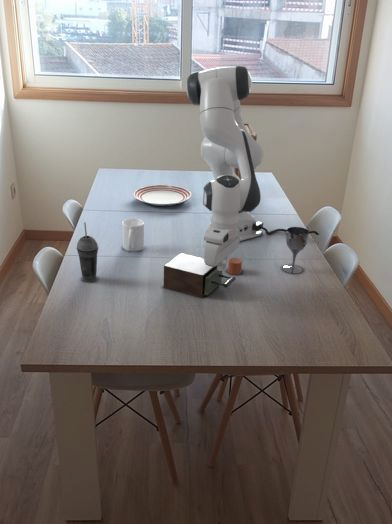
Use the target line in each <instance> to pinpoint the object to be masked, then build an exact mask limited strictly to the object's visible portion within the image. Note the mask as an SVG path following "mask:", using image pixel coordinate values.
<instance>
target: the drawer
mask: <svg viewBox="0 0 392 524" xmlns="http://www.w3.org/2000/svg"><path fill="white" fill-rule="evenodd" d="M223 278H224V279H227V281H226V282H225V283H223V282H222V281H223ZM234 281H236V277H235V276H234V275H232V276H228V275H224V274H223V270H222V271H218V270H217V268H216V269H215V268H214V269H213V270H211V271H210V272H209V273H208V274H207V275H206V276H204V286H203V291H204V290H205V292H204V296H206V297H207V296H209V295H210V294H211V293H212V292H213V291H214V290H216V288H218V287H219V286H222V287H223V288H225V289H227V288H228V287H229V286H230V285H231V284H232V283H233V282H234Z"/></svg>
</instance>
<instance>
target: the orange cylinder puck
mask: <svg viewBox="0 0 392 524" xmlns="http://www.w3.org/2000/svg"><path fill="white" fill-rule="evenodd" d="M242 269H243V260H242V258H238V257H231V258H228V260H227V273H228V274H230V275H233V276H234V275H235V276H236V275H240V274H242V271H243V270H242Z"/></svg>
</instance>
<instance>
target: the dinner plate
mask: <svg viewBox="0 0 392 524" xmlns="http://www.w3.org/2000/svg"><path fill="white" fill-rule="evenodd" d="M133 197H134V198H135V199H136V200H138V201H140V202H142V203H145V204H148V205H151V206H157V207H171V206H174V205H175V206H176V205H179V204H183V203H184V202H187V201H188V200H190V199H191V198H192V192H191V191H190V190H189V189H187V188H184V187H182V186H177V185H172V184H151V185H146V186H142V187H139V188H137V189H136V190H135V191H134V192H133Z"/></svg>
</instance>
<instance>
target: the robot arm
mask: <svg viewBox="0 0 392 524" xmlns="http://www.w3.org/2000/svg"><path fill="white" fill-rule="evenodd" d="M251 75H252V74H250V71H249V68H247V67H246V66H243V65H236V66H218V67H216V68H215V67H214V68H209V69H205V70H201V71H194V72H192V73H190V74H189V75H188V77H187V78H186V85H185V92H186V95H187V98H188V100H189V102H190V103H191V104H193V105H194V106H199V124H200V129H201V132H202V133H201V134H203V136H204V138H203V139H202V141H201V144H200V155H201V157H202V160H204V161H205V163H207V165H208V167H209V168H210V171H211V172H212V176H213V180H209V181H208V182H207V183H206V184H205V185H204V186H203V196H202V205H203V206H204V207H205V208H207V210H209V211H210V212H211V213H212V214H211V217H210V224H209V226H208V227H207V230H206V231H205V233H204V235H203V240H204V241H205V243H204V246H203V258H204V262H205V264H206V265H208V266H212V267H215V266H216V265H217V270H218V271H222V272H223V271H224V270H225V269H226V267H227V263H228V260H229V256H230V255H231V254H232V253H234V252H235V251H236V250H237V249H238V248H239V246H240V242H242V241H245V240H249V239H252V238H256V237H260V236H261V235H262V230H263V231H264V232H265V234H266V235H271V234H274V233H277V232H285V233H287V229H286V228H275V229H273V230H271V231H269V230H268V229H267V228H266V227H264V222H263V221H257V219H256V218H255V217H254V216H253V215H252V214H250V213H251V212H253V211H254V210H255V209H256V208H258V206H259V205H260V203H261V189H260V186H259V183H258V179H257V176H256V171H255V170H256V169H257V168H258V167H259V166H260V165H261V164H262V162H263V160H264V149H263V146H262V145H261V144H260V143H259V142H258V141H257V140H256V141H255V140H254V139H253V138H252V137H251V135H250V134H249V133H248V131H247V129H246V128H245V126H244V124H245V122H244V121H243V115H242V108H241V101H242V100H243V101H244V100H245V99H247V98H249V96H250V95H251V91H252V88H253V79H252V76H251ZM232 167H233V168H238V169H240V174H241V179H242V180H241V179H240V178H239V177H238V176H237V175H236V174H235V173H234V171H233V169H232ZM310 234H315V235H316V236H319V235H320V233H319V232H318V231H316V230H309V235H310Z"/></svg>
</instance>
